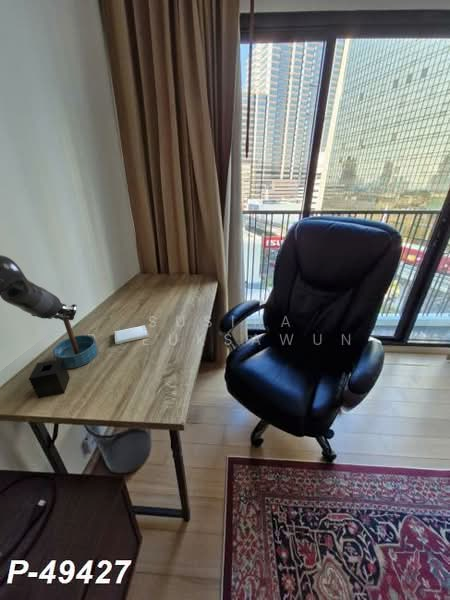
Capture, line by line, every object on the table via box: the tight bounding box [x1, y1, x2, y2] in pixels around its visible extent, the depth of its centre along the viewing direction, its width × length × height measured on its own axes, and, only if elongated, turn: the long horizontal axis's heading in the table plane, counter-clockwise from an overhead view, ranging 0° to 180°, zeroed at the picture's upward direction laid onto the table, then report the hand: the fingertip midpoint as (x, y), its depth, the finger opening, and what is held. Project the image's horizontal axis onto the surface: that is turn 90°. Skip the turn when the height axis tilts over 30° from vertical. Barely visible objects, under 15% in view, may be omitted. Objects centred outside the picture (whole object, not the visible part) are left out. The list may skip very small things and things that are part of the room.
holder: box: [28, 359, 71, 399], centre depth 77 cm, size 7×7×8 cm
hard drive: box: [114, 325, 149, 345], centre depth 104 cm, size 2×8×12 cm
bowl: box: [52, 334, 99, 369], centre depth 90 cm, size 13×13×6 cm
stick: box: [62, 317, 80, 355], centre depth 87 cm, size 2×2×18 cm
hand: (68, 317), depth 87 cm, fingers closed on stick, 1 cm apart
